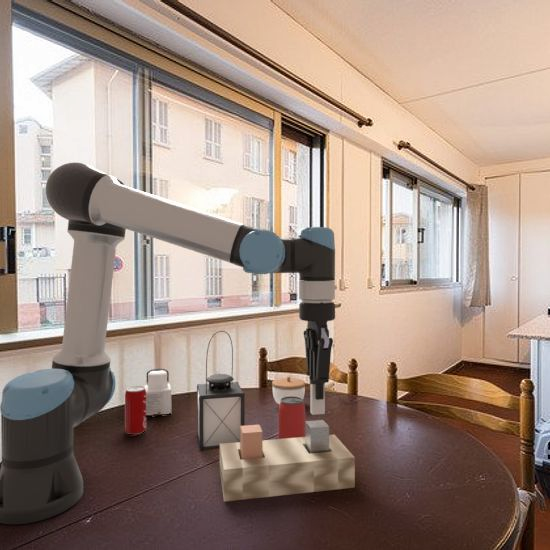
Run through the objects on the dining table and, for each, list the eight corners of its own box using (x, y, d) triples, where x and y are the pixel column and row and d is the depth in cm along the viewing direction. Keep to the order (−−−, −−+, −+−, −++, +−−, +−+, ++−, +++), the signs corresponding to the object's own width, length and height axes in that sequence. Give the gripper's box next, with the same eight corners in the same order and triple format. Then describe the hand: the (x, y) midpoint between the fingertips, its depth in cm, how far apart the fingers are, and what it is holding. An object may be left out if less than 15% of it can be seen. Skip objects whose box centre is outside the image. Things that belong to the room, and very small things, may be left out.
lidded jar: (311, 404, 135) (311, 375, 135) (294, 413, 126) (294, 382, 126) (282, 398, 141) (282, 371, 141) (265, 407, 132) (265, 378, 132)
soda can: (147, 434, 110) (147, 389, 110) (125, 437, 108) (125, 391, 108) (145, 426, 115) (145, 383, 115) (124, 429, 113) (124, 385, 113)
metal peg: (310, 457, 85) (310, 428, 85) (305, 449, 89) (305, 421, 89) (329, 455, 86) (329, 426, 86) (323, 447, 90) (323, 419, 90)
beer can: (303, 455, 97) (303, 404, 97) (276, 453, 98) (276, 402, 98) (307, 444, 103) (307, 396, 103) (281, 442, 105) (281, 394, 105)
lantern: (238, 430, 113) (238, 327, 113) (245, 446, 102) (244, 333, 102) (196, 434, 110) (196, 329, 110) (199, 451, 99) (198, 334, 99)
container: (144, 409, 130) (144, 368, 130) (169, 407, 132) (169, 366, 132) (144, 417, 123) (144, 373, 123) (171, 415, 125) (171, 372, 125)
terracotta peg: (242, 463, 82) (242, 433, 82) (240, 454, 86) (240, 425, 86) (262, 461, 83) (262, 431, 83) (259, 453, 87) (259, 424, 87)
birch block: (223, 501, 77) (223, 469, 77) (219, 471, 89) (219, 443, 89) (354, 487, 83) (354, 457, 83) (334, 460, 94) (334, 434, 94)
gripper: (345, 303, 81) (345, 422, 82) (324, 299, 94) (324, 402, 94) (308, 303, 80) (309, 425, 80) (292, 299, 93) (292, 404, 93)
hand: (317, 413), depth 87 cm, fingers closed
